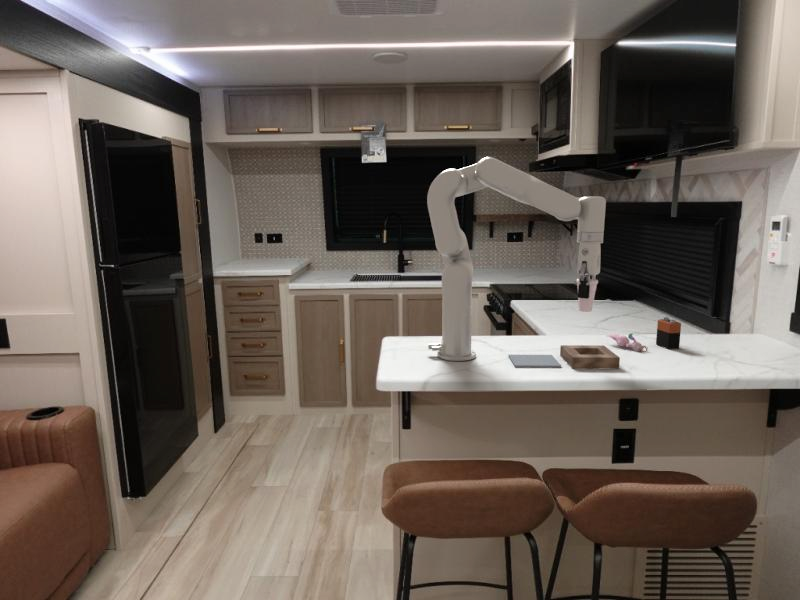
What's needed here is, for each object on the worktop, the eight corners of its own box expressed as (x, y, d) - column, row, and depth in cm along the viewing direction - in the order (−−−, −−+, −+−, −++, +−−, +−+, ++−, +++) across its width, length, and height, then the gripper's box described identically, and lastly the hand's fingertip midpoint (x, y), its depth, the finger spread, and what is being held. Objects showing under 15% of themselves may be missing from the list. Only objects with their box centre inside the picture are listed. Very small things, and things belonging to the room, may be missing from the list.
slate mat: (514, 367, 162) (515, 365, 162) (508, 356, 173) (508, 354, 173) (561, 367, 161) (561, 365, 161) (551, 356, 173) (551, 354, 173)
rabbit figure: (649, 354, 179) (612, 338, 191) (653, 338, 177) (615, 323, 189) (637, 357, 176) (600, 341, 188) (641, 341, 174) (604, 325, 186)
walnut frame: (572, 368, 160) (572, 357, 159) (560, 355, 174) (560, 345, 173) (619, 368, 159) (619, 357, 159) (603, 355, 173) (603, 345, 173)
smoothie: (599, 310, 164) (602, 265, 162) (591, 313, 159) (594, 267, 157) (579, 307, 168) (582, 264, 166) (570, 310, 164) (573, 265, 161)
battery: (665, 343, 188) (668, 316, 186) (679, 348, 181) (682, 320, 179) (655, 344, 187) (657, 316, 185) (668, 349, 180) (671, 320, 179)
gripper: (596, 239, 151) (592, 301, 154) (608, 237, 165) (604, 293, 168) (569, 238, 155) (566, 299, 158) (584, 236, 169) (580, 291, 172)
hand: (586, 295), depth 163 cm, fingers closed on smoothie, 6 cm apart
